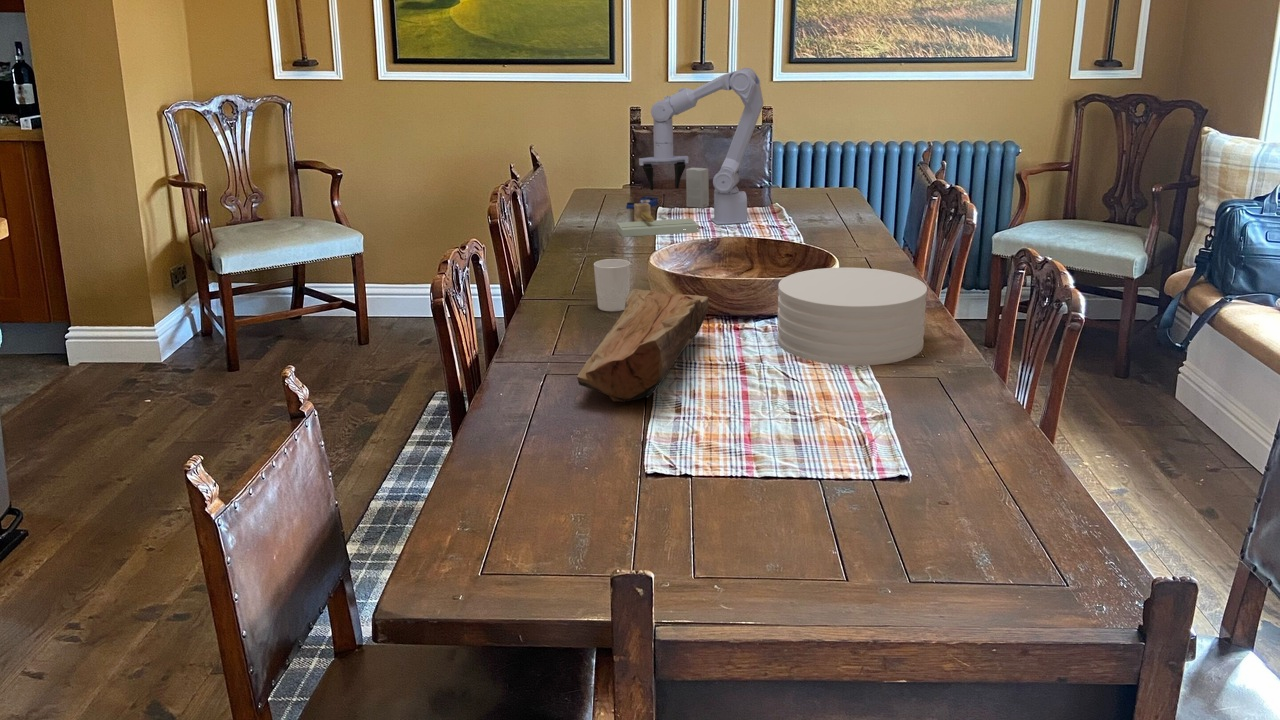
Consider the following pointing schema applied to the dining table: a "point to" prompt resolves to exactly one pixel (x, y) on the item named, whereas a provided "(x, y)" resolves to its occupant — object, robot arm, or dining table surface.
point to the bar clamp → (649, 200)
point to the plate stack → (851, 316)
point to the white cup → (612, 283)
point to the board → (657, 227)
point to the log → (643, 344)
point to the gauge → (642, 212)
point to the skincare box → (697, 187)
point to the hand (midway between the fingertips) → (664, 188)
